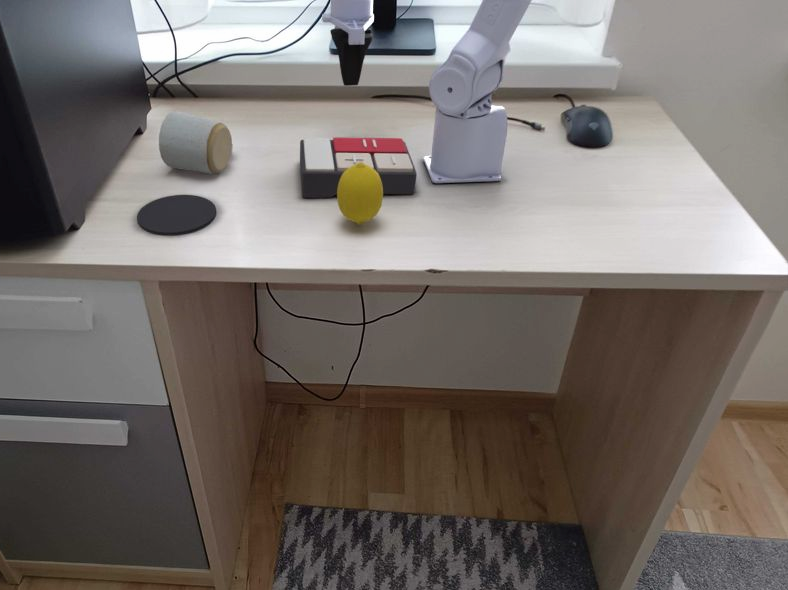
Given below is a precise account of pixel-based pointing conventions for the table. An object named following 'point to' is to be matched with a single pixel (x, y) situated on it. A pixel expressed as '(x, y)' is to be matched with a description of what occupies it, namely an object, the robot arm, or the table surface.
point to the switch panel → (333, 157)
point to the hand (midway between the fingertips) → (350, 84)
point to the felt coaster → (176, 214)
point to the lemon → (360, 193)
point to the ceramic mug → (194, 143)
